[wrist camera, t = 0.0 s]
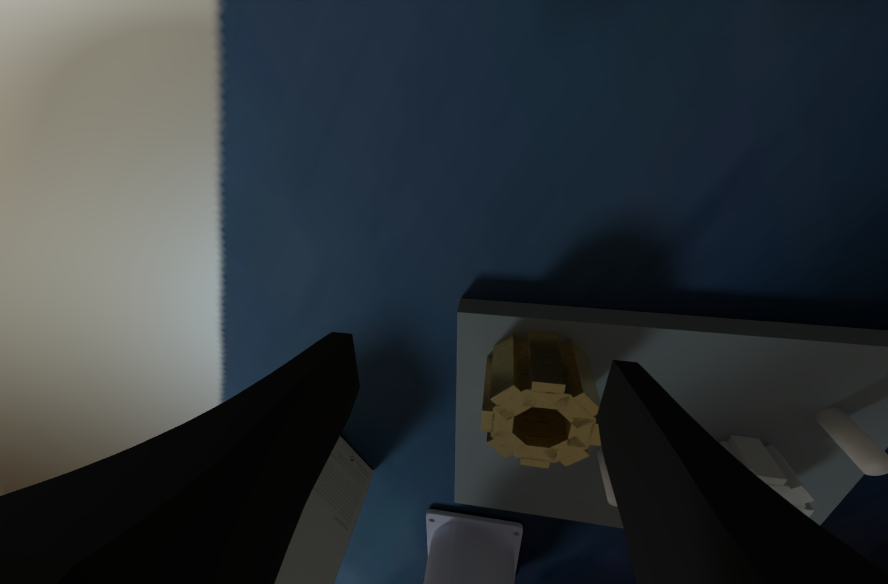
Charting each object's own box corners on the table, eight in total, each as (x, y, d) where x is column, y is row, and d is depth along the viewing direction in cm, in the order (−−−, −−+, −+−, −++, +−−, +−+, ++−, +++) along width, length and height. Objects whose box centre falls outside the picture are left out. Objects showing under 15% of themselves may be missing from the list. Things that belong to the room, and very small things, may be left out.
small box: (335, 425, 28) (252, 586, 19) (376, 471, 30) (318, 636, 21) (263, 448, 31) (162, 597, 22) (305, 488, 33) (228, 640, 24)
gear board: (780, 531, 26) (827, 609, 22) (457, 484, 29) (448, 545, 26) (935, 333, 18) (1052, 403, 14) (460, 298, 21) (449, 346, 17)
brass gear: (579, 412, 22) (592, 474, 18) (483, 401, 23) (478, 459, 19) (598, 334, 19) (617, 390, 16) (488, 325, 20) (484, 376, 16)
